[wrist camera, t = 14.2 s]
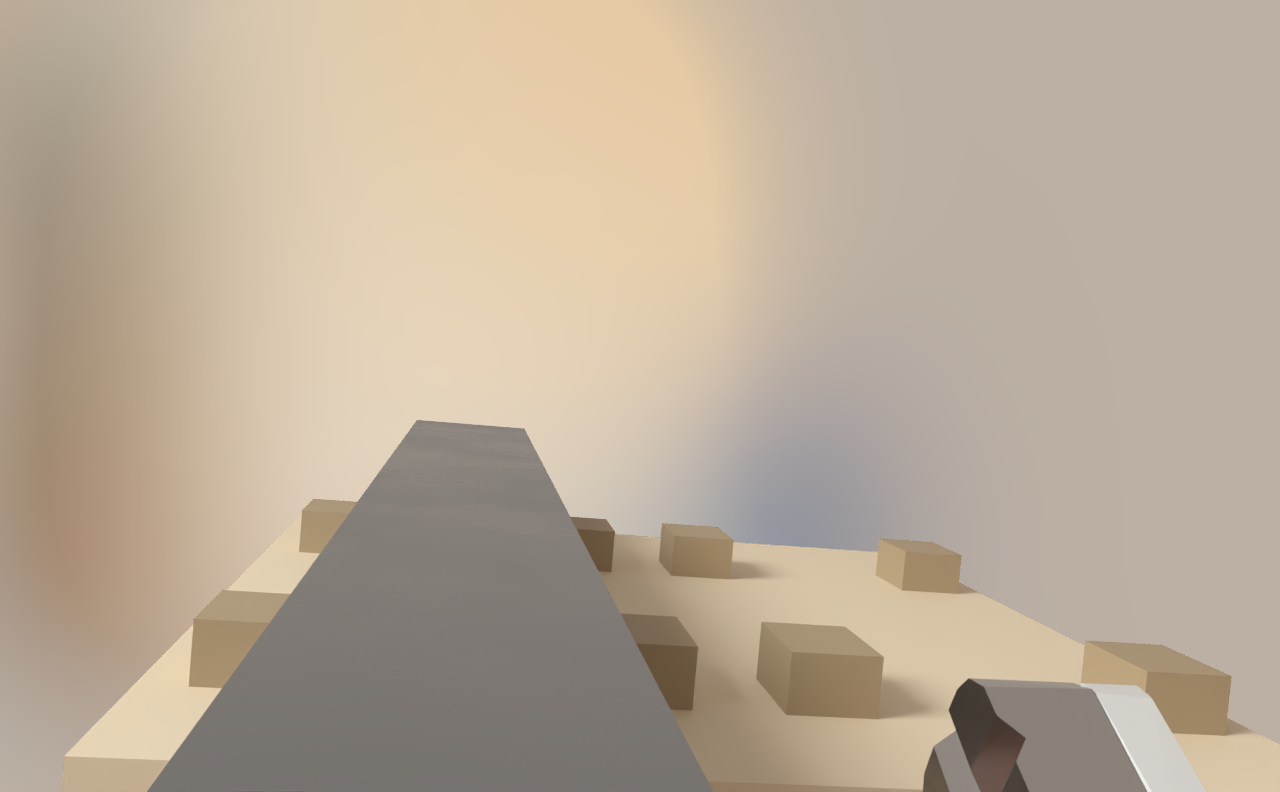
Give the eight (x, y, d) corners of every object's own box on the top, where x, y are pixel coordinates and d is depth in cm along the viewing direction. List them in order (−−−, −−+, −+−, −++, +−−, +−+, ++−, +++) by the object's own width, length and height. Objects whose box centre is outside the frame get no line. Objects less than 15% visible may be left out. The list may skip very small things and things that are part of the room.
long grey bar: (688, 1423, 6) (743, 848, 6) (72, 1447, 6) (119, 829, 6) (514, 533, 34) (524, 428, 34) (408, 526, 33) (416, 420, 33)
